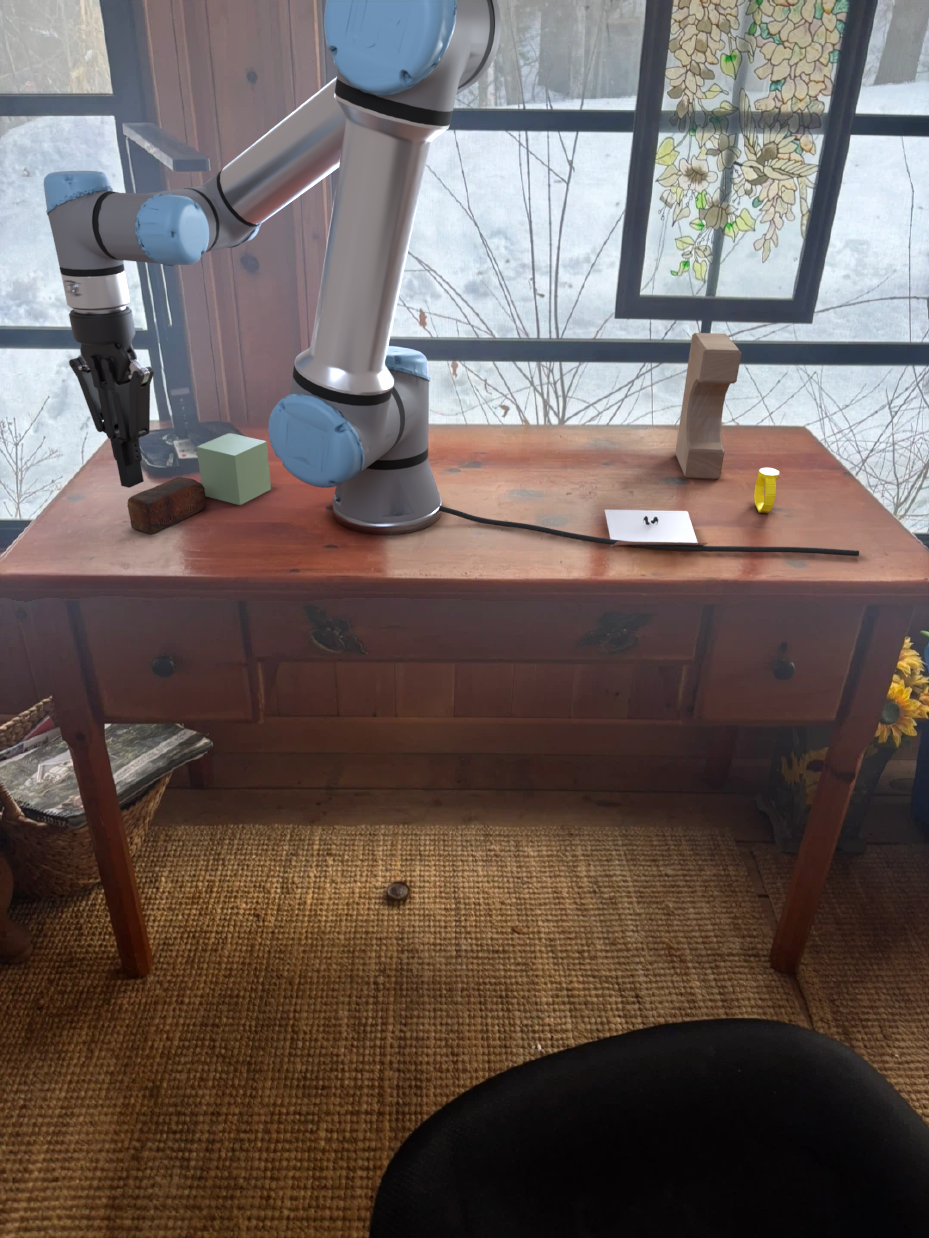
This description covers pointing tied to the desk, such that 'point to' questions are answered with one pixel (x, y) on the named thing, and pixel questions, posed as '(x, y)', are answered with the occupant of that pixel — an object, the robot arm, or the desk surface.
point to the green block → (234, 468)
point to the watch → (768, 478)
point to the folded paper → (651, 527)
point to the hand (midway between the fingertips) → (132, 483)
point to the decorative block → (705, 404)
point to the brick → (165, 504)
